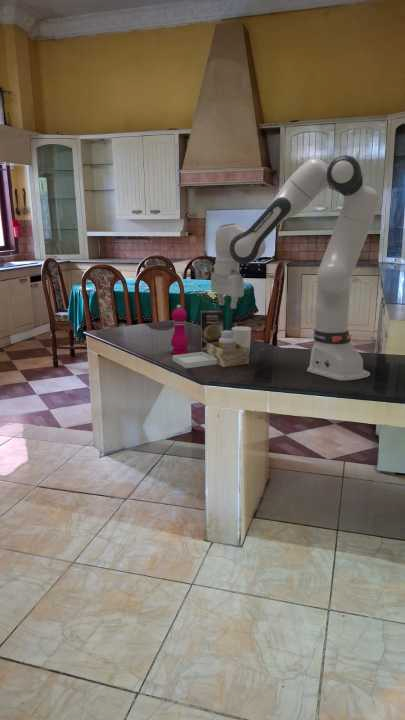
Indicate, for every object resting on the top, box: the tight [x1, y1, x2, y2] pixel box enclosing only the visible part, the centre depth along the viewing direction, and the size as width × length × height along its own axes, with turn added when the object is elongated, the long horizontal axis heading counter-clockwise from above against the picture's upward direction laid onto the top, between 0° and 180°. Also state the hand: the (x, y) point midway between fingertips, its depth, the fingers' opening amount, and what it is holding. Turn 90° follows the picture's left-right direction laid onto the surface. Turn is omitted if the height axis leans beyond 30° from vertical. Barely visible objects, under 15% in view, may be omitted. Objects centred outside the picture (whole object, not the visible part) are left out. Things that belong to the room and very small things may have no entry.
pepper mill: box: [170, 304, 190, 355], centre depth 217 cm, size 7×7×20 cm
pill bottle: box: [219, 329, 236, 351], centre depth 205 cm, size 6×6×12 cm
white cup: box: [231, 326, 252, 353], centre depth 218 cm, size 8×8×10 cm
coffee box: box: [200, 309, 224, 352], centre depth 224 cm, size 9×6×16 cm
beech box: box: [206, 342, 250, 368], centre depth 205 cm, size 15×11×6 cm
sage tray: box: [172, 351, 219, 369], centre depth 205 cm, size 13×13×2 cm
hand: (227, 306), depth 201 cm, fingers open, 8 cm apart
